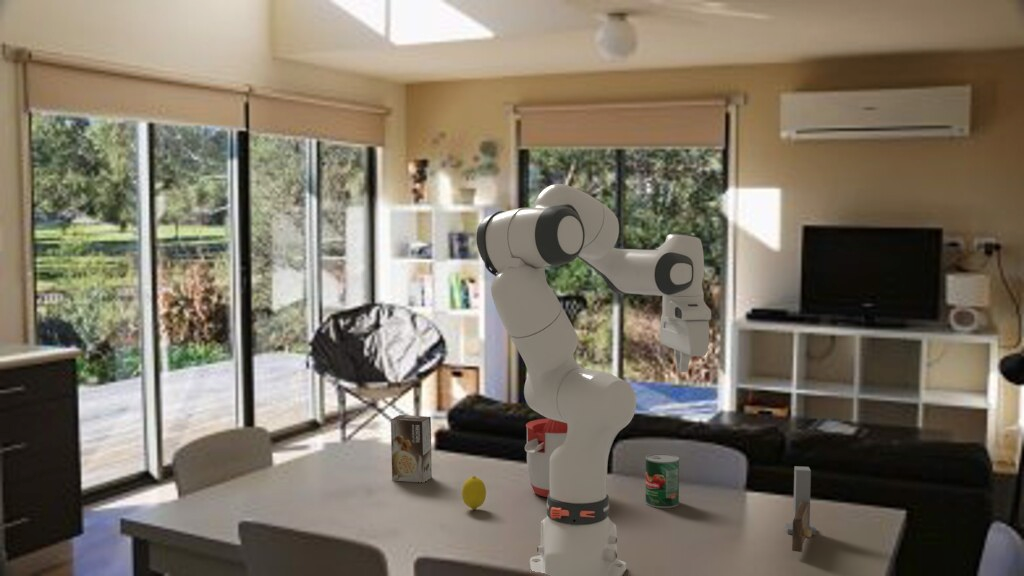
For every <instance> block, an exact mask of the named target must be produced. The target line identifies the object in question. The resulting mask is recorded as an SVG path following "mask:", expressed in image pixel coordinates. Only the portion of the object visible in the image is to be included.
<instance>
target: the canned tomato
mask: <svg viewBox="0 0 1024 576" xmlns="http://www.w3.org/2000/svg"><path fill="white" fill-rule="evenodd" d="M679 487H680V457H679V456H677V455H675V454H672V453H671V454H670V453H652V454H651V453H650V454H647V455H646V456H645V504H646V505H647V506H649V507H653V508H658V509H671V508H675V507H679V505H680V499H679V498H680V495H679V493H680V491H679V490H680V489H679Z"/></svg>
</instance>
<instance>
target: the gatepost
mask: <svg viewBox="0 0 1024 576" xmlns="http://www.w3.org/2000/svg"><path fill="white" fill-rule="evenodd" d="M793 469H794V471H793V475H794V476H793V477H794V478H793V513H792V514H793V517H792V521H793V520H794V517H795V515H796V512H797V509H798V507H799V504H800V502H806V503H809V509H808V530H811V536H817V533H818V531H817V529H816V526H815V524H810V521H811V484H812V483H811V482H812V481H811V479H812V478H811V477H812V470H811V469H810V467H809V466H797V465H795V466H794V468H793ZM784 528H785V531H786V533H787V534H788V535H793V523H789V522H788V523H787V522H786V523H785V525H784Z"/></svg>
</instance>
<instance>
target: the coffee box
mask: <svg viewBox="0 0 1024 576" xmlns="http://www.w3.org/2000/svg"><path fill="white" fill-rule="evenodd" d="M390 442H391V445H390V446H391V448H390V449H391V480H392V481H393V482H394V481H395V482H406V483H407V482H410V483H418V482H419V483H421V482H422V483H421V484H425V483H426V482H427V481H429V480H431V477H433V472H432V471H433V470H432V466H433V464H432V463H433V462H432V417H431V416H423V415H422V416H421V415H410V414H409V415H407V414H406V415H405V414H399V415H397V416H395V417H393V418H391V420H390ZM428 479H429V480H428ZM425 481H426V482H425Z"/></svg>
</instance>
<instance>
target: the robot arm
mask: <svg viewBox="0 0 1024 576" xmlns="http://www.w3.org/2000/svg"><path fill="white" fill-rule="evenodd" d="M619 235H620V224H619V220H618V217H617V216H616V215H615V213H614V212H613V211H612V209H610V208H609V207H608V206H607V205H605V204H604V203H602V202H601V201H599V200H598V199H597V198H595V197H593V196H592V195H589V194H588V193H586V192H584V191H582V190H580V189H579V188H575V187H574V186H572V185H571V186H570V185H568V184H564V183H554V184H551V185H548V186H547V187H545V188H544V189H543V190H541V192H540V193H539V194H538V196H537V197H536V199H535V202H534V206H533V207H529V206H528V207H520V208H518V207H517V208H514V209H509V210H505V211H504V210H501V211H497V212H496V211H495V212H494V213H492V214H489V215H488V216H486V217H484V218H483V219H482V220H481V221H480V223H479V224H478V227H477V229H476V239H475V241H476V247H477V250H478V253H479V256H480V258H481V260H482V261H483V263H484V266H485V269H486V270H487V271H488V272H489V273H490V274H491V275H493V276H495V277H494V278H493V280H492V282H491V287H490V293H491V297H492V300H493V303H494V305H495V308H496V311H497V314H498V316H499V318H500V320H501V323H502V325H503V326H504V328H505V330H506V332H507V334H508V335H509V337H510V339H511V341H512V343H513V345H514V346H515V347H516V350H517V351H518V353H519V354H520V356H521V358H522V360H523V362H524V364H525V367H526V370H527V373H528V374H527V375H528V376H527V378H526V379H525V383H524V386H523V387H524V388H523V395H524V399H525V402H526V404H527V406H528V407H529V408H530V409H531V410H533V411H534V412H536V413H538V414H539V415H541V416H543V417H545V419H552V420H556V421H560V422H564V423H567V425H568V430H567V435H566V439H565V441H564V444H563V445H561V446H559V447H558V448H556V449H555V450H554V451H553V453H552V454H551V457H550V493H549V494H548V497H546V499H547V500H546V517H544V518H543V520H541V521H540V545H538V546H537V547H536V549H537V554H540V555H534V556H531V557H530V558H529V569H531V570H532V571H535V572H541V573H545V574H548V575H550V576H623V575H624V574H625V572H626V570H627V563H626V561H623V560H620V559H618V548H617V547H618V538H617V534H618V533H617V525H616V524H615V522H613V521H612V520H611V518H610V517H609V514H610V499H609V495H608V493H607V491H608V489H607V488H608V487H607V485H608V484H607V483H608V462H609V455H610V452H611V448H612V445H613V443H614V440H615V439H616V437H617V435H618V434H619V432H620V431H622V430H623V429H624V428H626V427H627V426H628V425H629V424H630V423H631V421H632V419H633V418H634V415H635V413H636V410H637V409H636V408H637V397H636V393H635V390H634V388H633V387H632V385H631V384H630V383H629V382H628V381H626V380H624V379H622V378H621V377H618V376H616V375H614V374H611V373H609V372H604V371H599V370H593V369H587V368H584V367H582V366H581V365H580V364H578V362H577V361H576V360H575V358H574V354H575V352H576V350H577V347H578V345H579V344H578V343H579V337H578V333H577V332H576V330H575V328H574V326H573V324H572V322H571V321H570V319H569V317H568V315H567V313H566V311H565V309H564V308H563V306H562V304H561V302H560V300H559V299H558V296H557V295H556V294H555V293H554V291H553V289H552V288H551V287H550V284H548V281H547V277H546V270H545V268H546V267H549V266H551V267H552V266H555V267H559V266H563V265H567V264H569V263H571V262H573V261H575V260H576V259H577V258H578V259H579V260H581V262H583V263H585V264H586V265H587V266H589V267H590V268H591V269H593V270H594V271H595V272H596V273H598V274H599V275H600V276H601V278H602V279H603V281H604V282H605V283H606V285H607V287H608V288H609V289H610V290H611V291H612V292H613V293H615V294H617V295H632V294H633V295H644V296H645V295H646V296H658V297H661V296H662V304H661V305H662V308H661V309H662V314H661V315H660V316H661V317H660V324H659V325H660V326H659V343H660V344H661V345H662V346H666V347H667V348H669V349H670V348H671V349H672V350H673V357H674V361H675V369H676V370H677V371H679V372H682V373H683V372H684V373H686V372H688V371H689V364H690V361H691V358H692V357H704V356H706V355H707V353H708V350H709V344H710V324H709V321H710V320H711V319H712V310H711V308H710V307H709V306H708V304H706V302H705V300H704V297H705V296H704V295H705V294H704V290H703V280H704V277H705V275H704V274H705V258H704V248H703V244H702V240H701V238H699V237H698V236H695V235H693V234H688V233H687V234H686V233H681V232H680V233H679V232H678V233H676V232H675V233H669V234H667V235H666V238H665V241H664V242H663V243H662V244H661V245H660V246H659V247H656V248H655V249H637V248H636V249H633V248H626V247H625V248H624V247H615V246H616V244H617V241H618V238H619ZM531 570H530V571H531Z"/></svg>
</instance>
